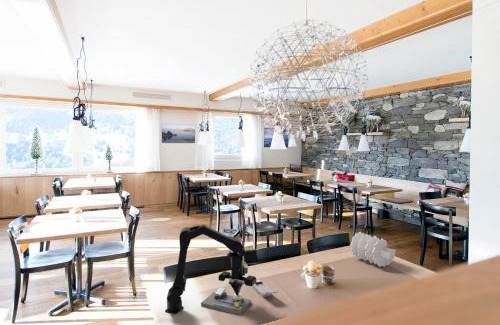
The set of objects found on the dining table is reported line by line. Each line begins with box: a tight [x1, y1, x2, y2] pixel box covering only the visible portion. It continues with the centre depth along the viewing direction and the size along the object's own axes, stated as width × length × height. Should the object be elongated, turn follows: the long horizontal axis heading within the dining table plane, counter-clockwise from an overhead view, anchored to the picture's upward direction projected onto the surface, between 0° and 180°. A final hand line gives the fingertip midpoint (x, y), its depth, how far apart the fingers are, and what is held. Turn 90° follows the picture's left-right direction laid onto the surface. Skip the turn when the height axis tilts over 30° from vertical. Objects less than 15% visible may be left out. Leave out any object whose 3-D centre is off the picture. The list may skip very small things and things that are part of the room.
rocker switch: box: [215, 286, 227, 296], centre depth 157 cm, size 3×5×1 cm, turn 155°
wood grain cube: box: [235, 300, 241, 309], centre depth 146 cm, size 2×3×3 cm
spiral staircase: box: [349, 231, 397, 268], centre depth 202 cm, size 18×18×25 cm
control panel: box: [200, 291, 252, 316], centre depth 152 cm, size 22×12×3 cm, turn 65°
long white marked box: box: [251, 279, 279, 298], centre depth 164 cm, size 6×6×25 cm
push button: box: [232, 292, 243, 301], centre depth 153 cm, size 4×4×2 cm
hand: (237, 295), depth 153 cm, fingers closed, pressing on push button
